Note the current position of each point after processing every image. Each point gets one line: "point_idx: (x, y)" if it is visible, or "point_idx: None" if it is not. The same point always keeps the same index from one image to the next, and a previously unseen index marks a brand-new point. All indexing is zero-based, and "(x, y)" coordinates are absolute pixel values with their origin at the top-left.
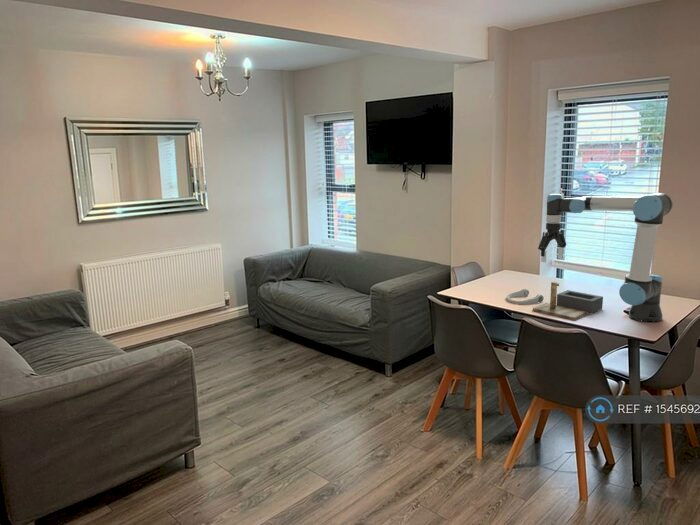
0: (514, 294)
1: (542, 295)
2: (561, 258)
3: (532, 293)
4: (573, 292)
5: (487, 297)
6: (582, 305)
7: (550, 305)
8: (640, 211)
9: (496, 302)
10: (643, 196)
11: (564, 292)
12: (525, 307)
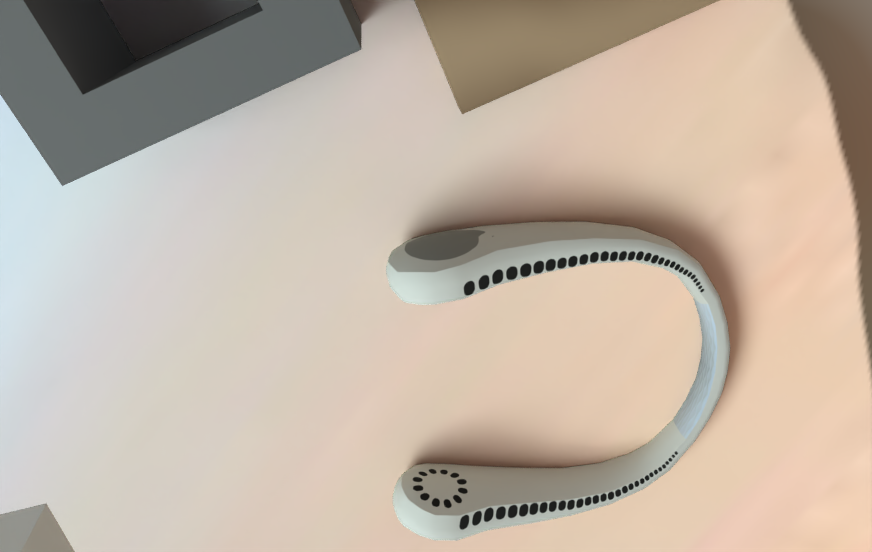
0: (573, 486)
1: (408, 276)
2: (40, 529)
3: (305, 523)
4: (47, 35)
5: (786, 534)
6: None
7: None
8: None
9: (839, 381)
10: None
11: (191, 90)
12: (721, 126)
